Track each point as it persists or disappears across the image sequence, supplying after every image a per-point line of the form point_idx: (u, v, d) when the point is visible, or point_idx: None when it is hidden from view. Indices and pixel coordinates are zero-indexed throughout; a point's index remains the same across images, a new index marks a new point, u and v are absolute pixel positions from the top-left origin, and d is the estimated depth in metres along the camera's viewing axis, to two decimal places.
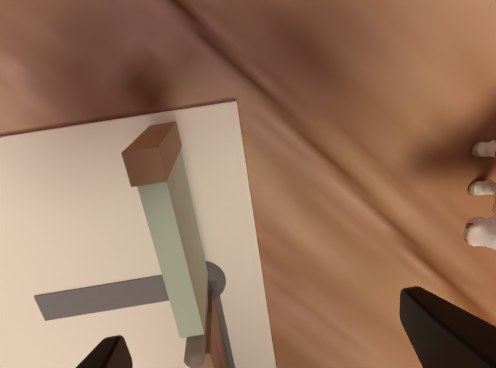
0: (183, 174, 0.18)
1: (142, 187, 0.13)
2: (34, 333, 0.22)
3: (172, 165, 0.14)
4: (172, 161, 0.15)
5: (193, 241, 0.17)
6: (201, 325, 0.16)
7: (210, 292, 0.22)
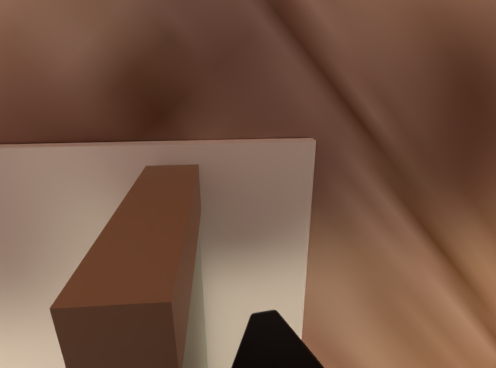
0: (198, 266, 0.09)
1: None
2: None
3: (190, 292, 0.06)
4: (190, 278, 0.06)
5: None
6: None
7: None
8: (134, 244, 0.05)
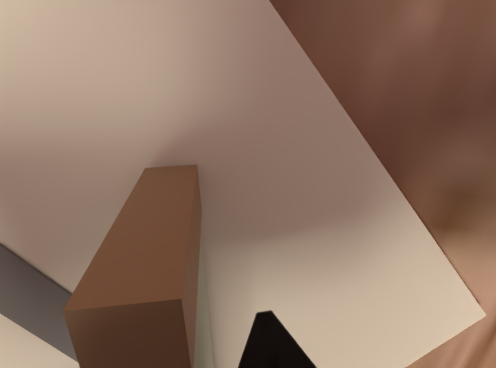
0: (201, 265, 0.09)
1: None
2: None
3: (197, 290, 0.06)
4: (196, 276, 0.06)
5: None
6: None
7: None
8: (140, 245, 0.05)
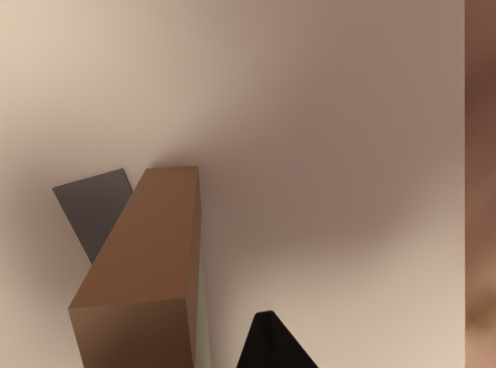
0: (200, 265, 0.09)
1: None
2: None
3: (197, 289, 0.06)
4: (197, 276, 0.06)
5: None
6: None
7: None
8: (143, 245, 0.05)
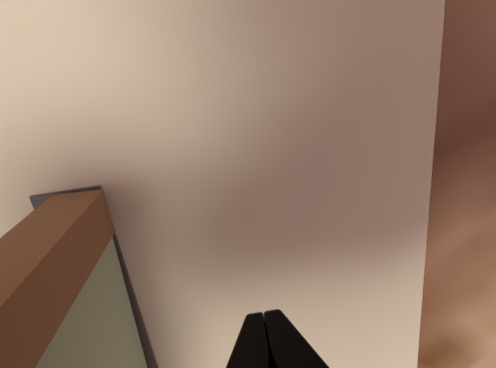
0: (113, 287, 0.09)
1: None
2: None
3: (59, 320, 0.06)
4: (63, 306, 0.07)
5: None
6: None
7: None
8: None
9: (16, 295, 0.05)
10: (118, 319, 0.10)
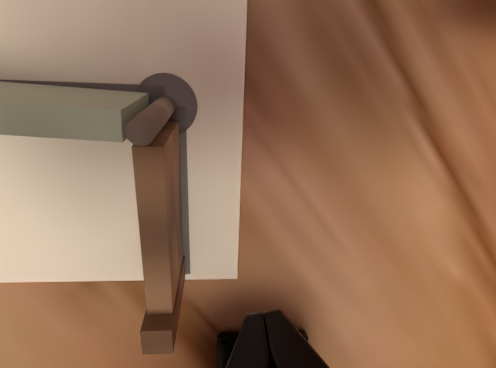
0: None
1: None
2: None
3: None
4: None
5: (47, 92, 0.14)
6: (105, 109, 0.12)
7: (175, 122, 0.17)
8: None
9: None
10: (5, 85, 0.15)
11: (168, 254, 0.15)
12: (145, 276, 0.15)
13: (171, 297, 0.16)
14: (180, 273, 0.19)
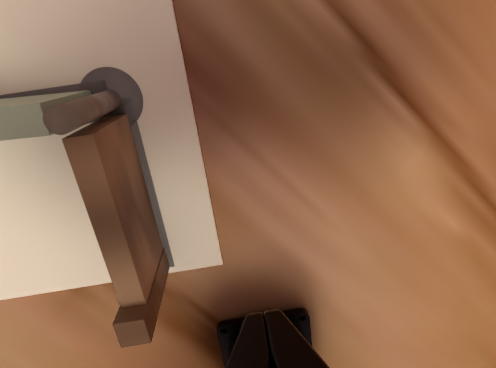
0: None
1: None
2: None
3: None
4: None
5: None
6: (24, 105, 0.12)
7: (123, 114, 0.17)
8: None
9: None
10: None
11: (126, 243, 0.14)
12: (109, 269, 0.15)
13: (141, 287, 0.15)
14: (158, 265, 0.19)
